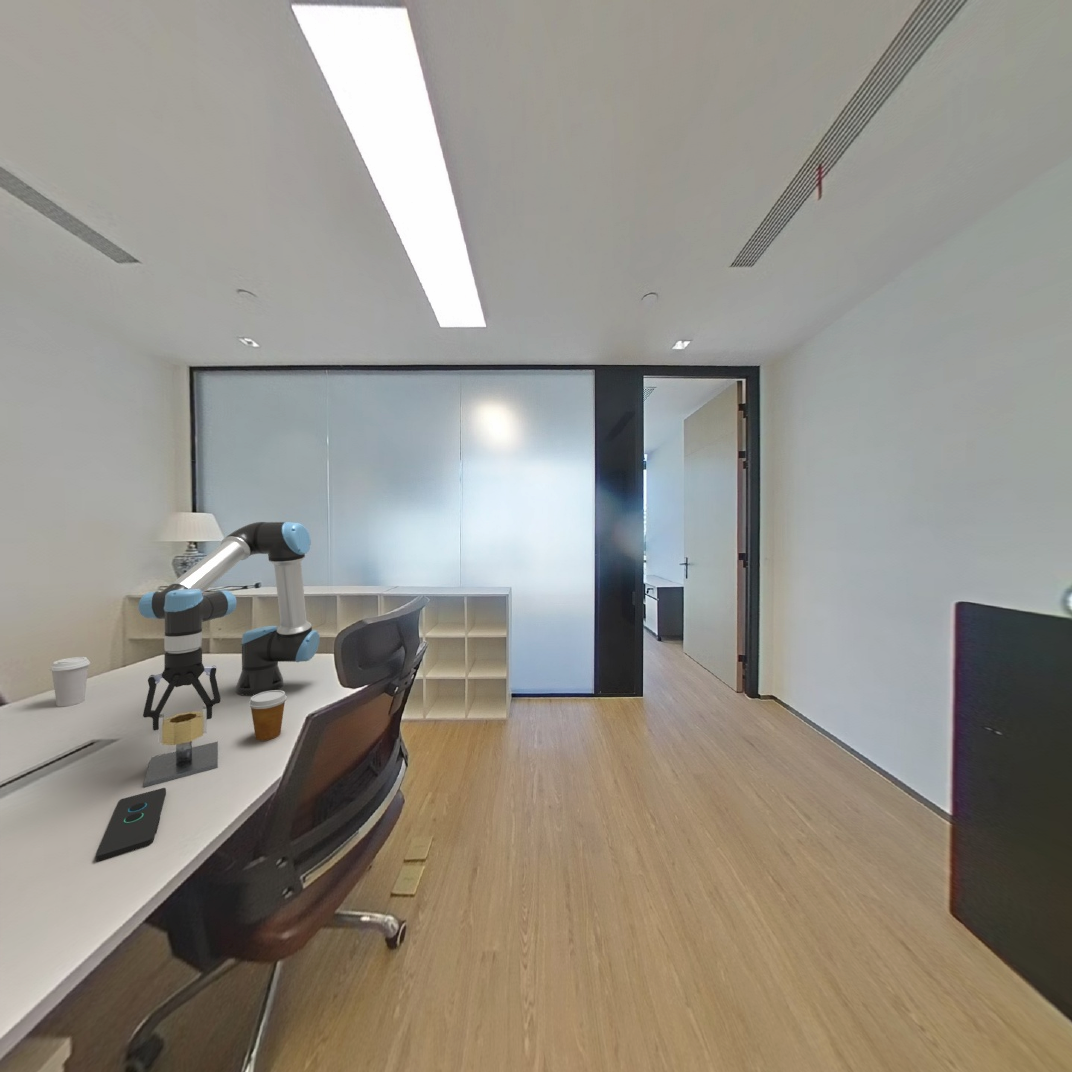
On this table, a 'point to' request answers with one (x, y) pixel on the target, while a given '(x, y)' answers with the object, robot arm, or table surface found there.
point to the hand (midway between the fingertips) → (183, 736)
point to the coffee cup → (70, 680)
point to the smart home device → (132, 824)
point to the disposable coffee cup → (267, 713)
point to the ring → (182, 728)
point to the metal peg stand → (182, 762)
